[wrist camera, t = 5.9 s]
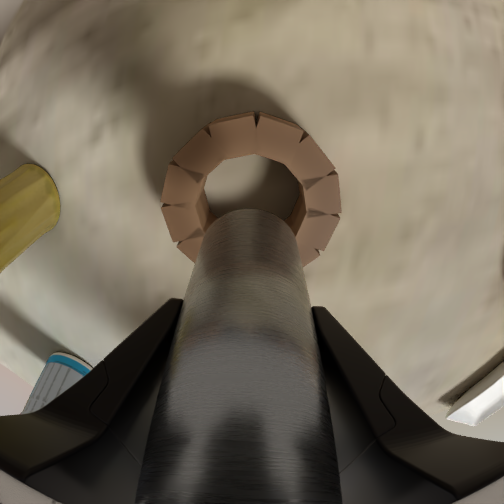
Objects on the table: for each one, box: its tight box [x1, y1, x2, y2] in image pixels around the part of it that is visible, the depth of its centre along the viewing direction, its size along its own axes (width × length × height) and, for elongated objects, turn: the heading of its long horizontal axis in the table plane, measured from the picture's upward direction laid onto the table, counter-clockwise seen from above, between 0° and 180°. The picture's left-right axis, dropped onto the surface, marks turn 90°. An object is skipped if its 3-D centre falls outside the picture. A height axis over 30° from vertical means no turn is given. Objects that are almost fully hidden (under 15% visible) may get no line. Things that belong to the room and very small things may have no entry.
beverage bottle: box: [21, 352, 93, 414], centre depth 22 cm, size 8×8×20 cm
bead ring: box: [161, 111, 341, 267], centre depth 18 cm, size 10×10×3 cm
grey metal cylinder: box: [134, 209, 343, 504], centre depth 8 cm, size 4×4×10 cm
